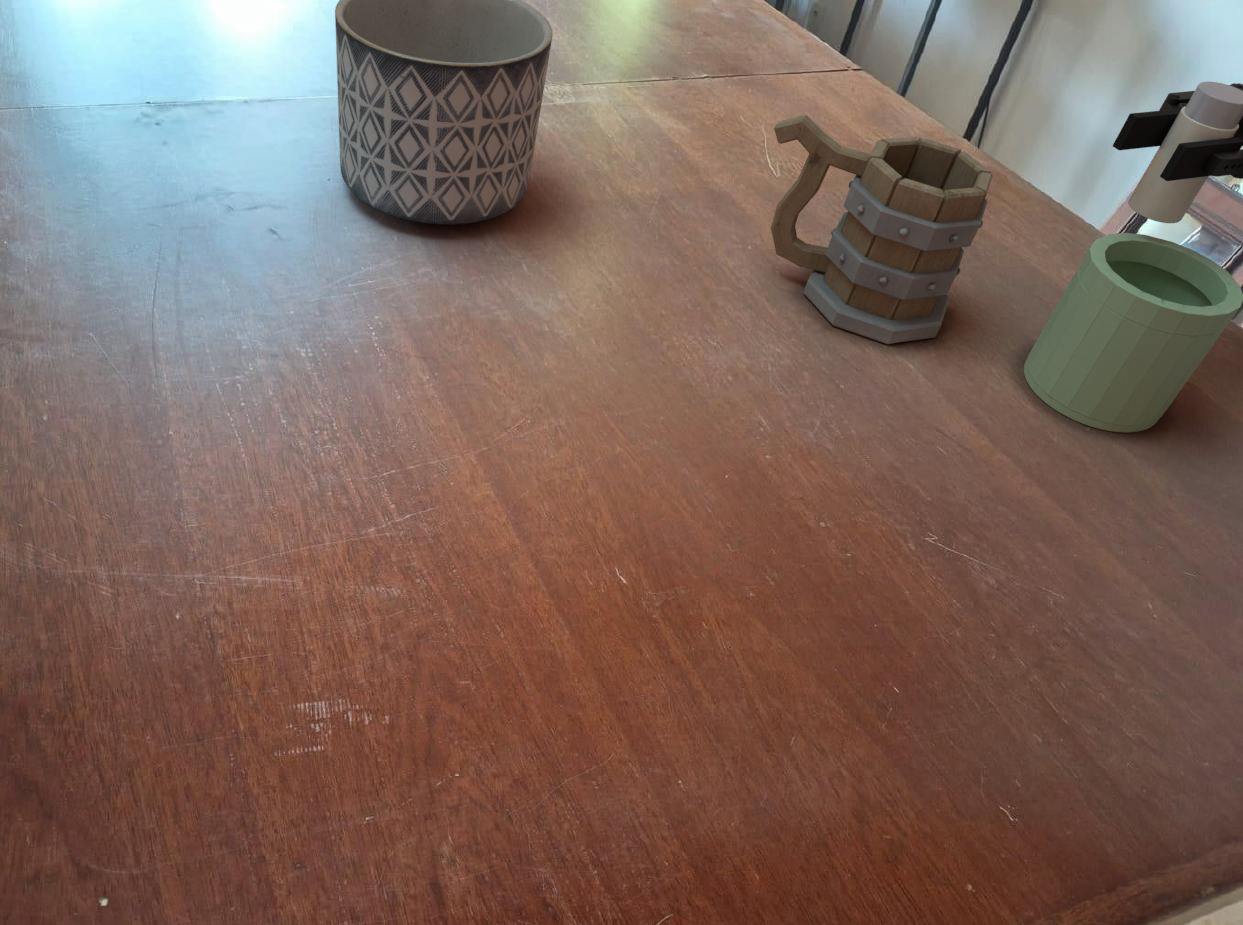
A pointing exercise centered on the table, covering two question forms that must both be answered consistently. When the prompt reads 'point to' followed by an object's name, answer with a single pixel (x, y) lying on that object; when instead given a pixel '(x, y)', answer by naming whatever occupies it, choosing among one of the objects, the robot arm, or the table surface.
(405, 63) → the planter
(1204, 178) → the salt shaker
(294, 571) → the table surface
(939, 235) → the tankard
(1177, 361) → the jar
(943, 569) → the table surface
